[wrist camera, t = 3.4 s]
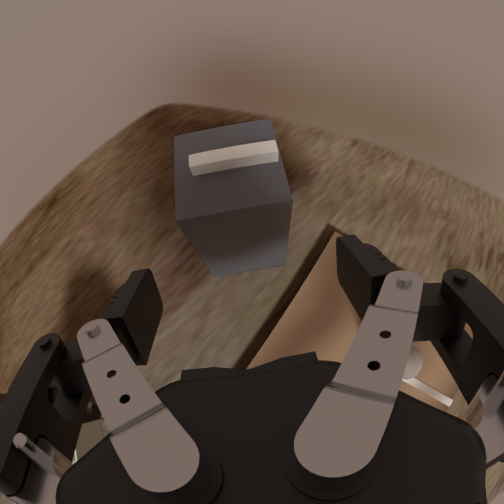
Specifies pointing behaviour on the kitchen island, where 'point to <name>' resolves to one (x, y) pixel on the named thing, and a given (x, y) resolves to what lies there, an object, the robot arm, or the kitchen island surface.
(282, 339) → the panel
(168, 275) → the kitchen island surface
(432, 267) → the kitchen island surface
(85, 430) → the pneumatic valve
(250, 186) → the grey rectangular block
